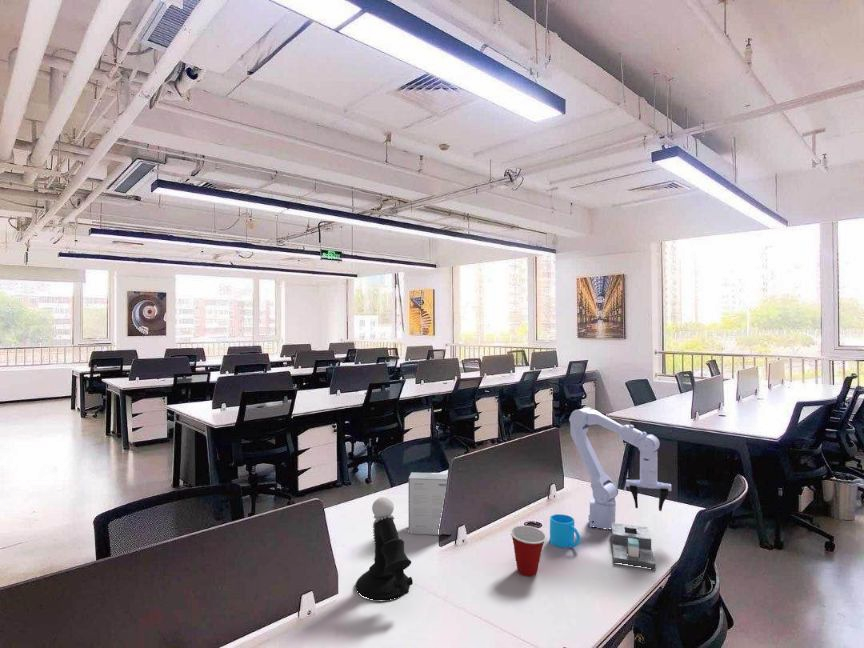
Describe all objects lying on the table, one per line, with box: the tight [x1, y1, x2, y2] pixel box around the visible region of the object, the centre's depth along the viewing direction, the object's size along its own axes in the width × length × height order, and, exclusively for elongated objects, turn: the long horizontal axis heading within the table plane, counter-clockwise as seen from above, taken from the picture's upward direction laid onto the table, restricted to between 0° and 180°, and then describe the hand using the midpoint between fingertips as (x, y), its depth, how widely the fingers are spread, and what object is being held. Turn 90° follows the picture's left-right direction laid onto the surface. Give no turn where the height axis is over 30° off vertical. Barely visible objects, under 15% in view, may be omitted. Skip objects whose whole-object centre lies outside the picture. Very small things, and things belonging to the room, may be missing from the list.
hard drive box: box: [408, 471, 448, 536], centre depth 178 cm, size 16×8×20 cm, turn 84°
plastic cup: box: [510, 525, 547, 577], centre depth 150 cm, size 11×11×12 cm
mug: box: [549, 513, 581, 548], centre depth 169 cm, size 12×8×8 cm
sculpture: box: [355, 497, 413, 601], centre depth 137 cm, size 15×24×25 cm, turn 27°
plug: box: [628, 538, 639, 558], centre depth 158 cm, size 3×4×6 cm
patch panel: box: [610, 522, 657, 570], centre depth 164 cm, size 12×22×4 cm, turn 162°
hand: (648, 508), depth 174 cm, fingers open, 7 cm apart
